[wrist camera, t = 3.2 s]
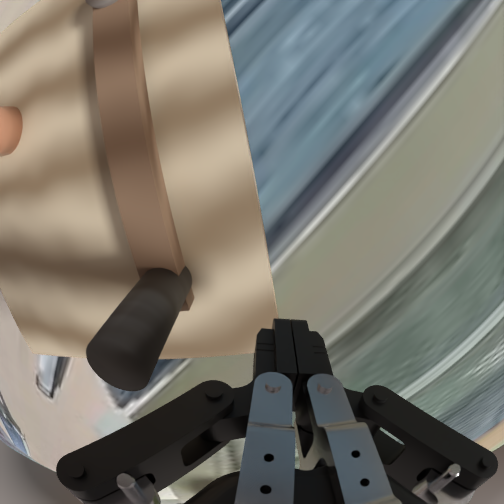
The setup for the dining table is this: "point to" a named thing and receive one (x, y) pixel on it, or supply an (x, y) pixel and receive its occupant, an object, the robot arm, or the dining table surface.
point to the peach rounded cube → (10, 129)
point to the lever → (135, 206)
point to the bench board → (102, 190)
